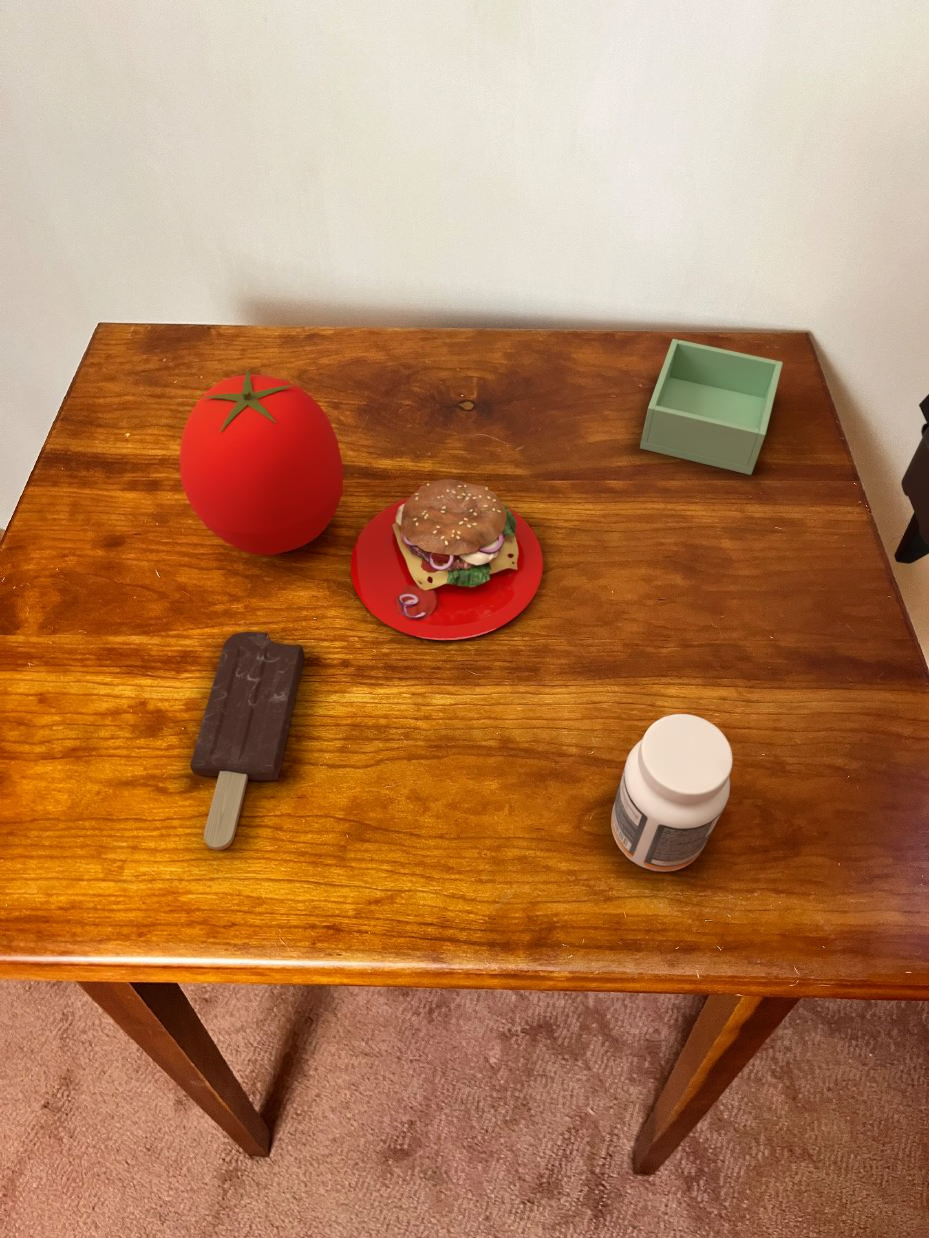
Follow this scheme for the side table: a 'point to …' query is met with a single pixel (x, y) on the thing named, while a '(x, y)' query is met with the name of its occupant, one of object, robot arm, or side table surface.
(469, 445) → the side table surface
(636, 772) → the pill bottle
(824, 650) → the side table surface
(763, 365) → the green storage bin
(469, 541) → the hamburger
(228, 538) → the tomato
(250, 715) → the ice cream bar
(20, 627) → the side table surface
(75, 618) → the side table surface
